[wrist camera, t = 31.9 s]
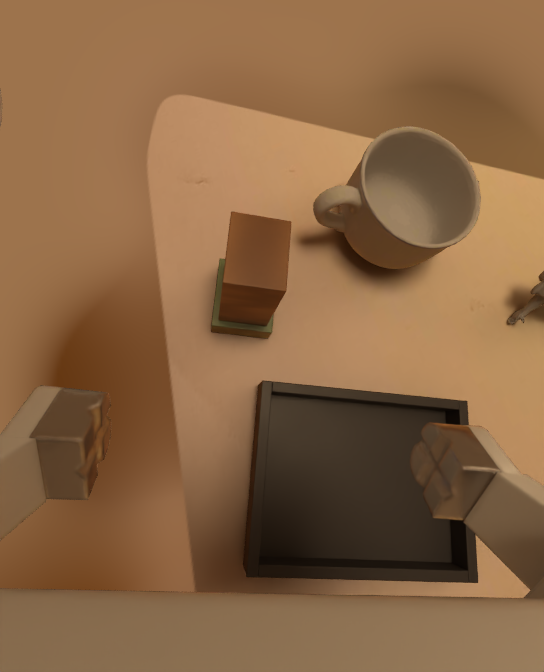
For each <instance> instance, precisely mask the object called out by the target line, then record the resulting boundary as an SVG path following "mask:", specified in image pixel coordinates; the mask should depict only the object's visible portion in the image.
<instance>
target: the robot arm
mask: <svg viewBox="0 0 544 672" xmlns="http://www.w3.org/2000/svg"><path fill="white" fill-rule="evenodd" d="M110 406H111V404H110V395H109V394H108V393H106V392H97V391H89V390H80V389H71V388H59V387H50V386H39V387H37V388H35V390H34V391H33V392H32V393H31V395H30V396H29V397H28V399H27V400H26V401H25V402H24V404H23V405H22V407H21V408H20V409H19V410H18V412H17V413H16V414H15V416H14V417H13V418H12V420H11V421H10V422H9V424H8V425H7V426H6V428H5V429H4V430H3V432H2V433H1V434H0V540H2V539H3V538H4V537H5V536H6V535H7V534H9V533H10V532H11V531H12V530H13V529H14V528H16V527H17V526H18V525H19V524H20V523H21V522H23V521H24V520H25V519H26V518H27V517H28V516H30V515H31V514H32V513H33V512H34V511H35V510H37V509H38V508H39V507H40V506H41V505H43V504H44V503H45V502H46V499H70V500H71V499H72V500H88V498H89V495H90V493H91V491H92V488H93V485H94V483H95V481H96V478H97V476H98V471H97V464H98V463H100V462H101V461H102V460H104V458H105V455H106V453H107V450H108V446H109V442H110V438H111V437H110V436H111V419H109V417H108V416H107V413H108V411H109V408H110ZM421 436H422V439H423V440H421V441H420V442H418V443H417V444H415V445H414V447H413V449H412V452H411V454H410V468H411V472H412V475H413V477H414V479H415V481H416V482H417V483H419V484H420V485H421V486H422V487H423V488H424V490H423V493H422V496H423V498H424V500H425V503H426V505H427V507H428V509H429V511H430V513H431V515H432V517H433V518H439V519H451V520H463V521H464V523H465V524H466V525H467V526H468V527H469V528H470V529H471V530H472V531H473V532H474V533H475V534H476V535H477V536H478V537H479V538H480V540H481V541H482V542H483V543H484V544H485V545H486V546H487V547H488V548H489V549H490V550H491V551H492V552H493V553H494V554H495V555H496V556H497V557H498V558H499V559H500V560H501V561H502V562H503V563H504V564H505V565H506V566H507V567H508V568H509V569H510V570H511V571H512V572H513V573H514V574H515V575H516V576H517V577H518V578H519V579H520V580H521V581H522V582H523V583H524V584H525V585H526V586H527V587H528V588H529V589H530V590H531V591H530V592H529V593H528V594H527V595H526V596H525V597H524V598H486V597H431V596H377V595H322V594H268V593H214V592H160V591H159V592H158V591H109V590H107V591H106V590H55V589H54V590H53V589H4V588H3V589H2V588H0V672H544V486H543V485H542V484H540V483H539V482H537V481H536V480H534V479H533V478H531V477H530V476H528V475H526V474H521V473H520V471H519V470H518V469H517V468H516V466H515V465H514V464H513V462H512V461H511V460H510V459H509V457H508V456H507V455H506V453H505V452H504V451H503V450H502V448H501V447H500V446H499V445H498V443H497V442H496V441H495V439H494V438H493V437H492V436H491V434H490V433H489V432H488V430H486V429H485V428H483V427H482V426H471V425H454V424H442V423H430V422H429V423H427V424H426V425H425V426H424V427H423V429H422V431H421Z"/></svg>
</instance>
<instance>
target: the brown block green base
mask: <svg viewBox="0 0 544 672" xmlns="http://www.w3.org/2000/svg"><path fill="white" fill-rule="evenodd" d="M290 234H291V221H285V220H279V219H273V218H267V217H261V216H255V215H249V214H243V213H237V212H231V218H230V226H229V234H228V242H227V250H226V258H225V259H220V261H219V269H218V276H217V284H216V292H215V300H214V308H213V316H212V323H211V332H218V333H226V334H234V335H243V336H251V337H259V338H267V339H268V338H269V336H270V335H271V333H272V326H273V314H274V312H275V310H276V308H277V307H278V305H279V303H280V301H281V299H282V298H283V296H284V294H285V292H286V288H287V274H288V261H289V247H290Z"/></svg>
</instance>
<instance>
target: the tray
mask: <svg viewBox="0 0 544 672" xmlns="http://www.w3.org/2000/svg"><path fill="white" fill-rule="evenodd" d="M429 422H430V423H442V424H454V425H469V422H468V406H467V401H460V400H450V399H440V398H430V397H421V396H411V395H401V394H391V393H381V392H371V391H361V390H351V389H341V388H331V387H321V386H312V385H302V384H292V383H282V382H272V381H262V382H261V383H260V384H259V385H258V393H257V405H256V416H255V428H254V440H253V452H252V463H251V475H250V487H249V499H248V510H247V522H246V534H245V546H244V557H243V566H244V570H245V573H246V577H268V578H307V579H346V580H385V581H424V582H463V583H468V582H469V583H478V571H477V554H476V538H475V533H474V532H473V531H472V530H471V529H470V528H469V527H468V526H467V525H466V524H465V523H464V521H463V520H451V519H439V518H433V517H432V515H431V513H430V511H429V509H428V507H427V505H426V503H425V500H424V498H423V496H422V493H423V490H424V488H423V487H422V486H421V485H420V484H419V483H417V482H416V481H415V479H414V477H413V475H412V472H411V468H410V454H411V452H412V449H413V447H414V445H415V444H417V443H418V442H420V441H421V440H423V439H422V436H421V431H422V429H423V427H424V426H425V425H426V424H427V423H429Z"/></svg>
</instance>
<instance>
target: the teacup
mask: <svg viewBox="0 0 544 672" xmlns="http://www.w3.org/2000/svg"><path fill="white" fill-rule="evenodd" d="M480 201H481V196H480V188H479V181H478V180H477V178H476V175H475V173H474V171H473V168H472V166H471V164H470V163H469V162H468V160H467V159H466V157H465V156H464V155H463V154H462V153H461V152H460V150H459V149H458V148H457V147H456V146H454V145H453V144H452V143H451V142H449V141H448V140H447V139H445V138H443V137H441V136H440V135H438V134H436V133H434V132H431V131H429V130H425V129H423V128H418V127H398V128H395V129H391V130H388V131H386V132H384V133H382V134H381V135H379V136H378V137H377V138H375V140H374V141H373V142H371V144H370V145H369V146H368V148H367V149H366V151H365V153H364V155H363V157H362V160H361V162H360V163H359V165H358V166H357V168H356V169H355V171H354V173H353V174H352V176H351V178H350V179H349V181H348V183H347V185H339V186H335V187H332V188H330V189H327V190H326V191H324V192H323V193H321V194H320V195H319V196H318V197H317V198H316V200H315V202H314V205H313V211H314V215H315V217H316V219H317V221H318V222H319V223H320V224H322V225H323V226H326V227H329V228H334V229H336V230H337V231H338V232H343V233H344V235H345V237H346V239H347V241H348V242H349V244H350V245H351V247H352V248H353V249H354V250H355V251H356V252H357V253H358V254H359V255H360V256H361V257H363V258H364V259H365V260H367V261H369V262H370V263H373V264H375V265H377V266H380V267H384V268H389V269H402V268H408V267H412V266H414V265H417V264H420V263H422V262H424V261H426V260H427V259H429V258H431V257H433V256H434V255H436V254H438V253H439V252H441V251H442V250H444V249H445V248H447V247H449V246H451V245H454V244H456V243H457V242H459V241H461V240H462V239H463V238H465V237H466V236H467V235H468V234H469V232H470V231H471V230H472V228H473V227H474V225H475V223H476V221H477V219H478V216H479V211H480ZM339 205H340V213H336V212H332V211H329V210H330V209H332V208H334V207H336V206H339Z"/></svg>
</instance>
